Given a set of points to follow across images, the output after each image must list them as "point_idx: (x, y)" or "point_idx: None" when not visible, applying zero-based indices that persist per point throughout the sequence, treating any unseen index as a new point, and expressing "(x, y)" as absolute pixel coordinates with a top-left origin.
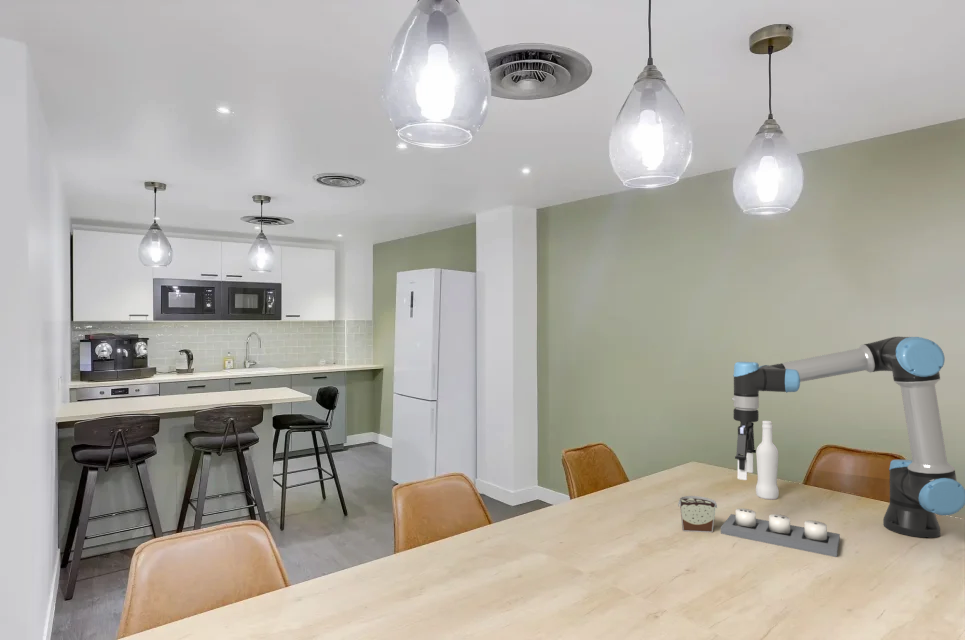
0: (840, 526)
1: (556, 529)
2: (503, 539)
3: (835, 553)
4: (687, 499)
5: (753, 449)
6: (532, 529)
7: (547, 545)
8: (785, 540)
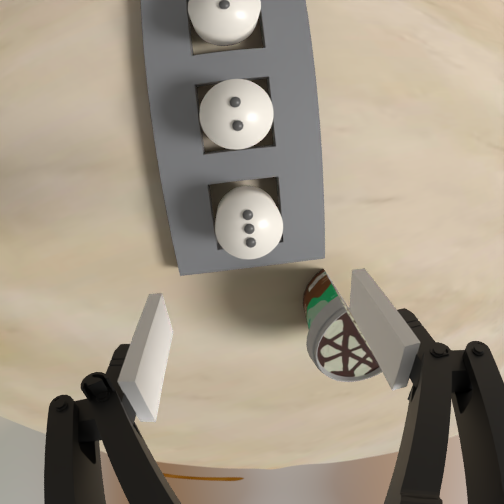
0: (29, 39)
1: None
2: None
3: None
4: (339, 370)
5: (73, 400)
6: None
7: None
8: (315, 83)
